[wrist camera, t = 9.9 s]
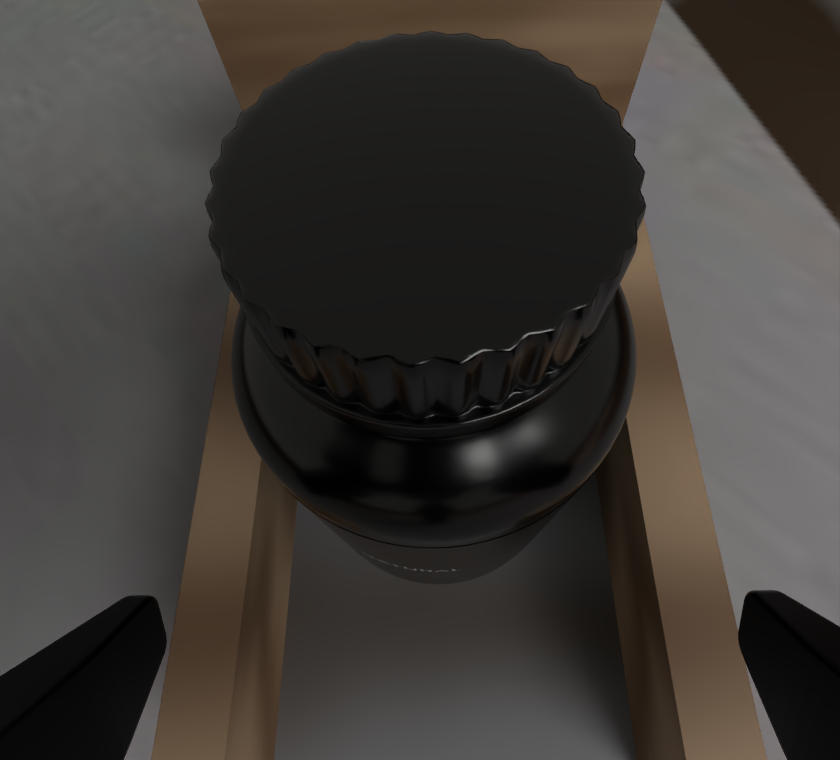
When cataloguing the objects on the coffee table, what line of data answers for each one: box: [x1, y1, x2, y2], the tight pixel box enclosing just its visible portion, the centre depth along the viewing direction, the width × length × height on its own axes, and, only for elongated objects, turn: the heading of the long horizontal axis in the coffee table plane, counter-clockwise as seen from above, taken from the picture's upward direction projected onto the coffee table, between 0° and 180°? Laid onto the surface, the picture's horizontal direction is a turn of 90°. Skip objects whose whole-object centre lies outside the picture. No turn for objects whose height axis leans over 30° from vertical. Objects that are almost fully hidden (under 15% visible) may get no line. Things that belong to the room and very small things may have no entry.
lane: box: [151, 0, 767, 760], centre depth 14 cm, size 20×12×9 cm, turn 0°
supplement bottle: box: [205, 31, 646, 584], centre depth 11 cm, size 7×7×12 cm
